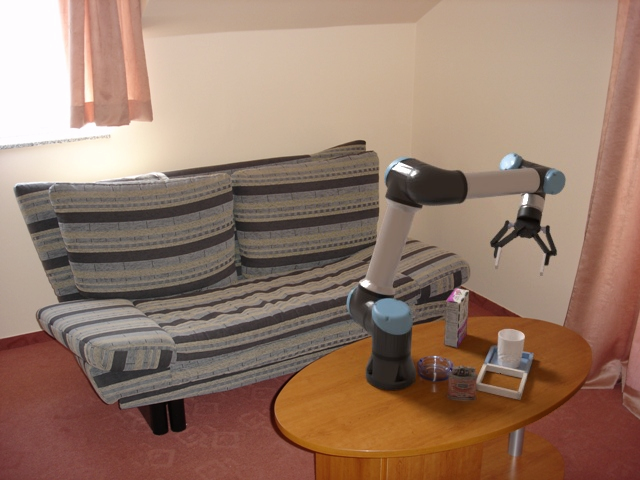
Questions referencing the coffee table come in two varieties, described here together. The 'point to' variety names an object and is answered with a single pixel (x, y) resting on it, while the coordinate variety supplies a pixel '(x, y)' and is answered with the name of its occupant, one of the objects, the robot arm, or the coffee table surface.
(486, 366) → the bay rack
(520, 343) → the white cup
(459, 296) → the candy bar box
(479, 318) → the coffee table surface
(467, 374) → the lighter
